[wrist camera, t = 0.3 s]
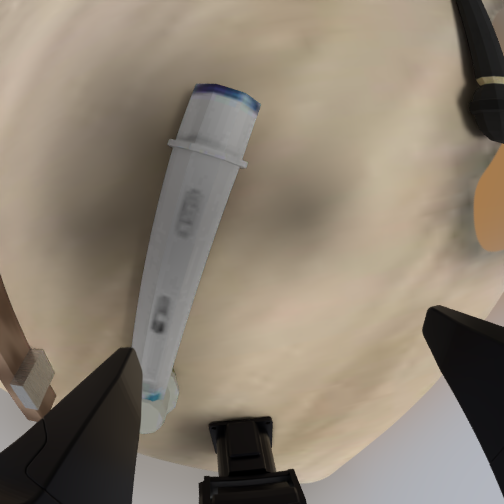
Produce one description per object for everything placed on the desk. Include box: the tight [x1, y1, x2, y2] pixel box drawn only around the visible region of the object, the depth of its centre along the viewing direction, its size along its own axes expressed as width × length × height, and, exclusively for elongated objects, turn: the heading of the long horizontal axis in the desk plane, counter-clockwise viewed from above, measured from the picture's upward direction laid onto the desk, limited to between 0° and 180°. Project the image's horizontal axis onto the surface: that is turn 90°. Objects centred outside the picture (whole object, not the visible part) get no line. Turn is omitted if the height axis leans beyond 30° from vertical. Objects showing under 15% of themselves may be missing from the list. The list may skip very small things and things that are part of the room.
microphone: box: [456, 0, 504, 144], centre depth 14 cm, size 6×6×20 cm
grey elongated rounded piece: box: [132, 84, 261, 434], centre depth 19 cm, size 5×7×25 cm
